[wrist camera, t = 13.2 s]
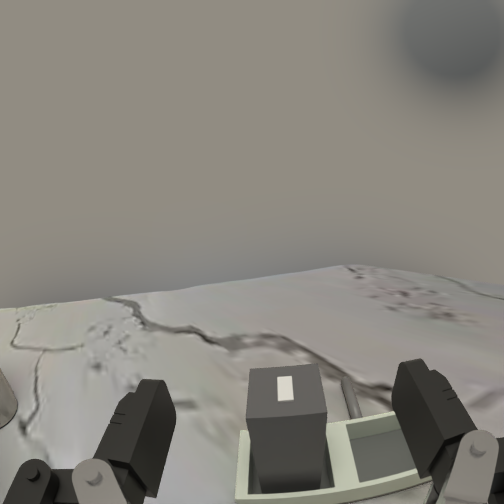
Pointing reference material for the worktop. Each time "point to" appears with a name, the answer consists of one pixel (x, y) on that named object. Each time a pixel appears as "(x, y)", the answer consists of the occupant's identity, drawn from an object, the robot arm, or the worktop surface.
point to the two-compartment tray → (343, 462)
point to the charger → (287, 427)
